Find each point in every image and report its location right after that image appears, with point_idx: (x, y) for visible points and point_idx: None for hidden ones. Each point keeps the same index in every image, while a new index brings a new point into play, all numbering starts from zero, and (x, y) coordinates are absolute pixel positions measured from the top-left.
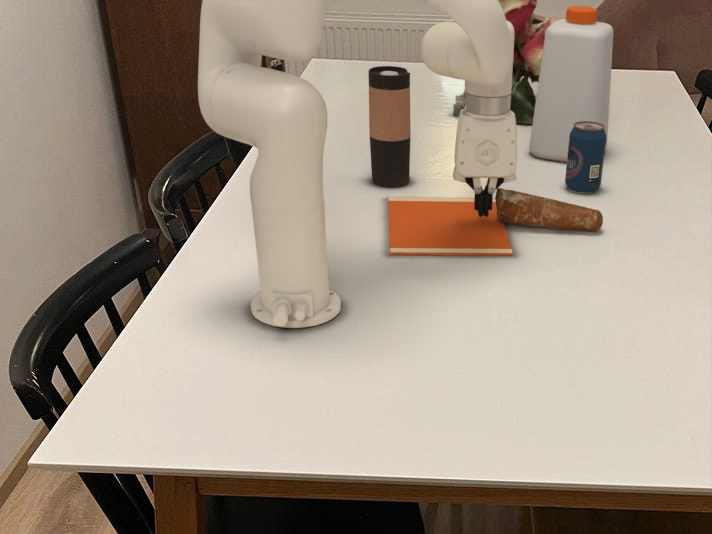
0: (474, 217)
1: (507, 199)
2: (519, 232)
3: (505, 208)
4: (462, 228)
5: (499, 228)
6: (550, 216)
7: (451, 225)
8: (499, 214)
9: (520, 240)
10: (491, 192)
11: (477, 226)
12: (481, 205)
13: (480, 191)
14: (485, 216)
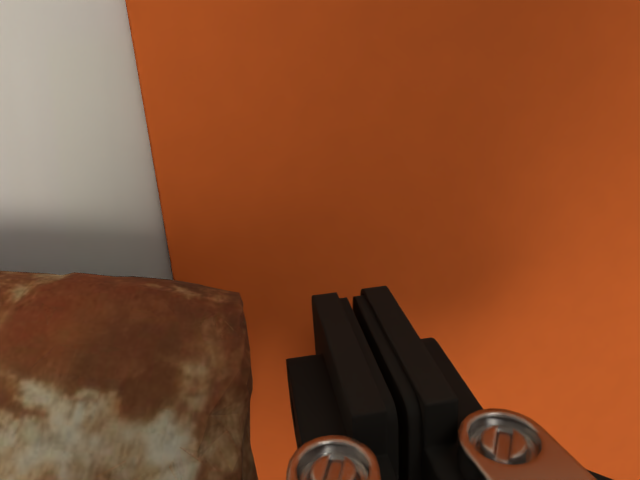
0: None
1: (129, 421)
2: (51, 213)
3: (155, 319)
4: (482, 197)
5: (212, 229)
6: None
7: (546, 241)
8: (216, 290)
9: (21, 36)
10: (327, 455)
11: (375, 245)
12: (399, 330)
13: (467, 432)
14: (333, 293)
